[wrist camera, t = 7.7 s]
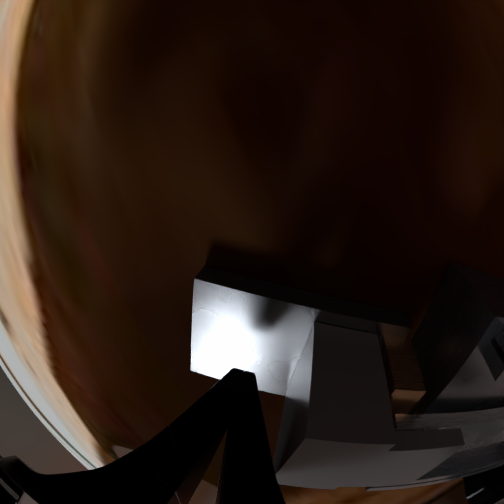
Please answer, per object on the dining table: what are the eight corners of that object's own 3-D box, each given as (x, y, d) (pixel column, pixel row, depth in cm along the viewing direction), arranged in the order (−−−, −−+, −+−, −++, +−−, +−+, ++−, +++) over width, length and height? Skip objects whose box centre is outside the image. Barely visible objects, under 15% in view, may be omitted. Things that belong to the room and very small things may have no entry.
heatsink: (575, 306, 7) (611, 353, 2) (497, 415, 11) (511, 465, 6) (408, 249, 8) (469, 345, 4) (322, 415, 13) (314, 495, 8)
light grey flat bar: (563, 392, 5) (566, 399, 5) (538, 420, 6) (541, 427, 6) (394, 413, 6) (397, 429, 6) (361, 446, 8) (362, 460, 7)
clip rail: (405, 312, 9) (411, 328, 8) (357, 391, 12) (358, 407, 11) (204, 265, 10) (194, 278, 9) (198, 355, 12) (190, 370, 12)
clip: (440, 344, 8) (473, 437, 4) (395, 405, 10) (403, 487, 6) (314, 321, 9) (305, 438, 5) (286, 390, 11) (269, 482, 7)
